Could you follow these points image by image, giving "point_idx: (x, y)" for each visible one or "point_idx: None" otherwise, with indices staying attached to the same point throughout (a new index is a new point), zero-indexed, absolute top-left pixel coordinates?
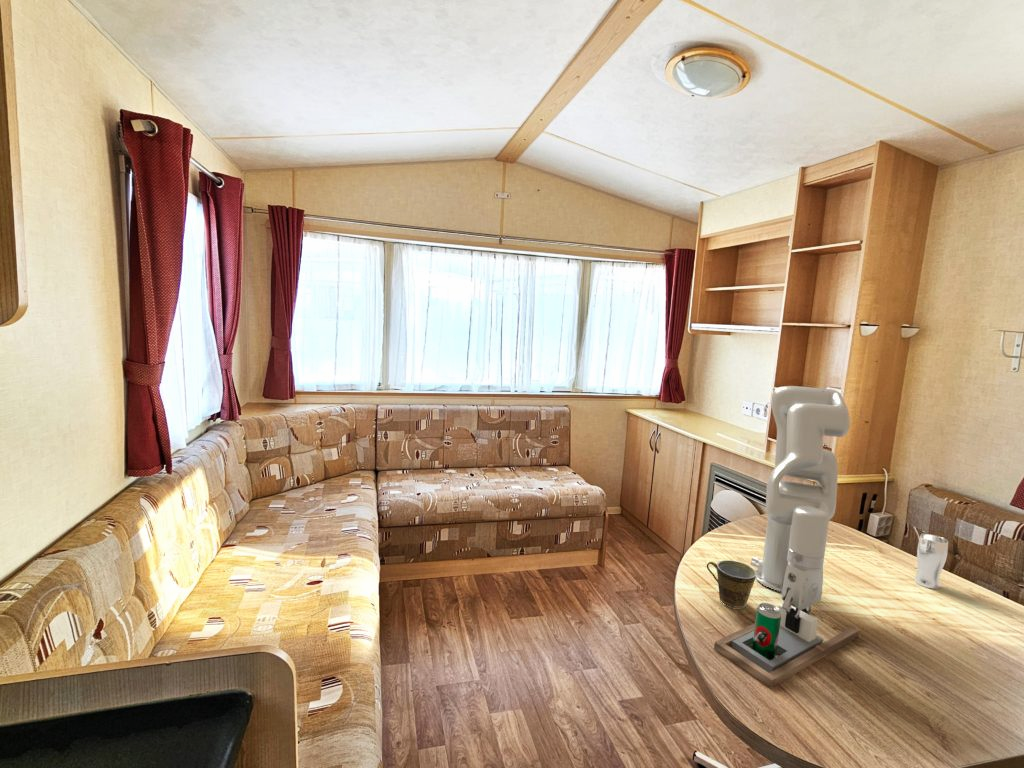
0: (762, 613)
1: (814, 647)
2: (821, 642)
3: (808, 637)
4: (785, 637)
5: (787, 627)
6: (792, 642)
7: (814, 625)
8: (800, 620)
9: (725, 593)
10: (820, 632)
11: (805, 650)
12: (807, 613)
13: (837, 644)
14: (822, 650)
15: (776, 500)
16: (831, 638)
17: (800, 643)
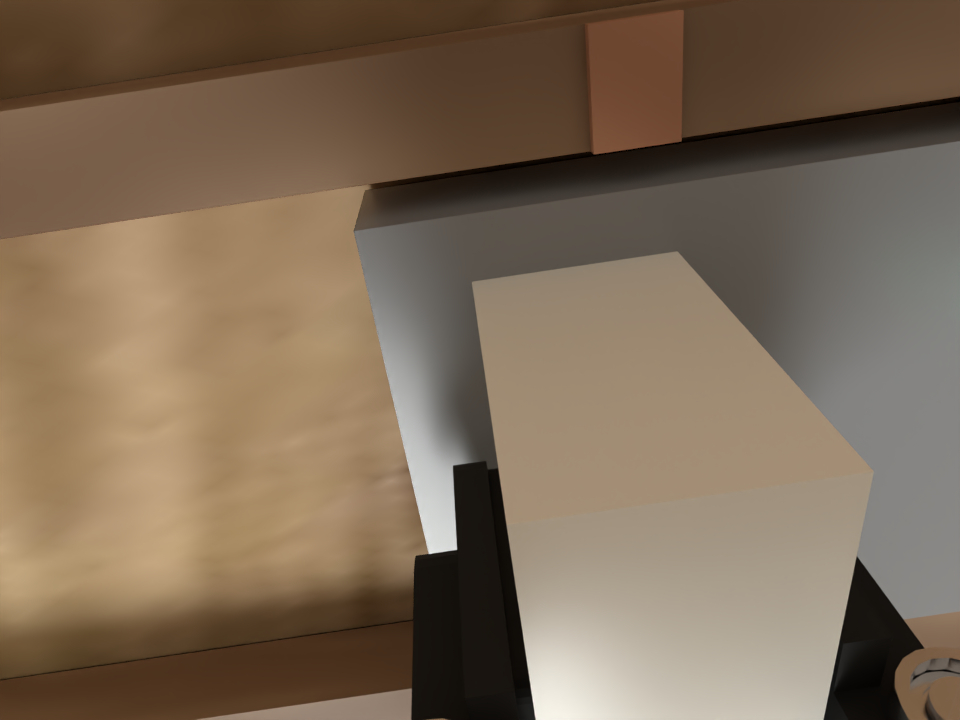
0: None
1: (602, 172)
2: (401, 207)
3: (706, 294)
4: (871, 424)
5: None
6: (912, 323)
7: (639, 418)
8: None
9: None
10: (95, 408)
11: (887, 142)
12: (487, 715)
13: (136, 86)
14: (672, 11)
15: None
16: (145, 213)
17: (839, 269)
